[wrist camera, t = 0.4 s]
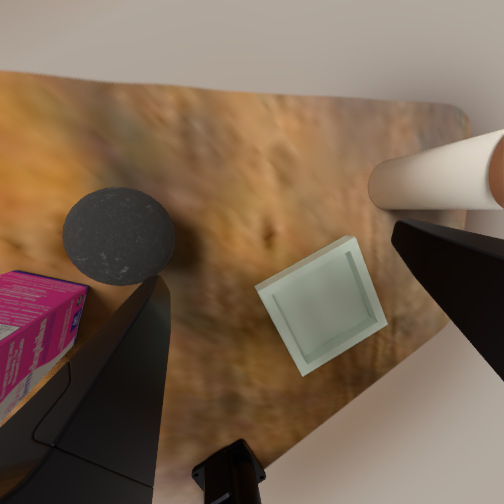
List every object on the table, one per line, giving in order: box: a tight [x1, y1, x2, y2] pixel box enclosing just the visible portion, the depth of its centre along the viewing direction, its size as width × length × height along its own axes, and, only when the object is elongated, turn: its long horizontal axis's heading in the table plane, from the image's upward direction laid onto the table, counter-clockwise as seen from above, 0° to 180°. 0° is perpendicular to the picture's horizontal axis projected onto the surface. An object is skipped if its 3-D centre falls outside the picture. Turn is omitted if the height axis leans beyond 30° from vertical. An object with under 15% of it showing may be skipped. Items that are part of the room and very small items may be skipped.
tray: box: [254, 235, 388, 376], centre depth 24 cm, size 11×11×2 cm
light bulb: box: [63, 187, 176, 286], centre depth 15 cm, size 6×6×10 cm
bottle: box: [368, 129, 504, 210], centre depth 17 cm, size 5×5×14 cm
